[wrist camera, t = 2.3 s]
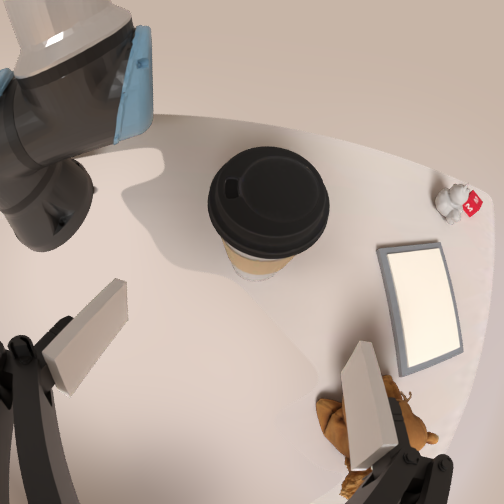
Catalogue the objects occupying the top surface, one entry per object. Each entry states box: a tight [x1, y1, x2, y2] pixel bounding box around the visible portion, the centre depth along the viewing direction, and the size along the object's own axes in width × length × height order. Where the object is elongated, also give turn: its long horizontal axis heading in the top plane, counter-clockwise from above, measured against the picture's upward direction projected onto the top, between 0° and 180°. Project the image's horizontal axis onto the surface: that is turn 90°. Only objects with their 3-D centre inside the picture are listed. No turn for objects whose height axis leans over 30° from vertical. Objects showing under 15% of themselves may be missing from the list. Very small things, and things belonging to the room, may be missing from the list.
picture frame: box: [376, 242, 464, 377], centre depth 32 cm, size 17×12×1 cm
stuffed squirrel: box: [316, 375, 439, 500], centre depth 20 cm, size 10×14×13 cm
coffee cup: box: [208, 147, 330, 281], centre depth 27 cm, size 9×9×15 cm
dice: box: [462, 190, 483, 217], centre depth 38 cm, size 3×3×3 cm
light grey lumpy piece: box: [435, 183, 469, 225], centre depth 35 cm, size 5×7×8 cm
